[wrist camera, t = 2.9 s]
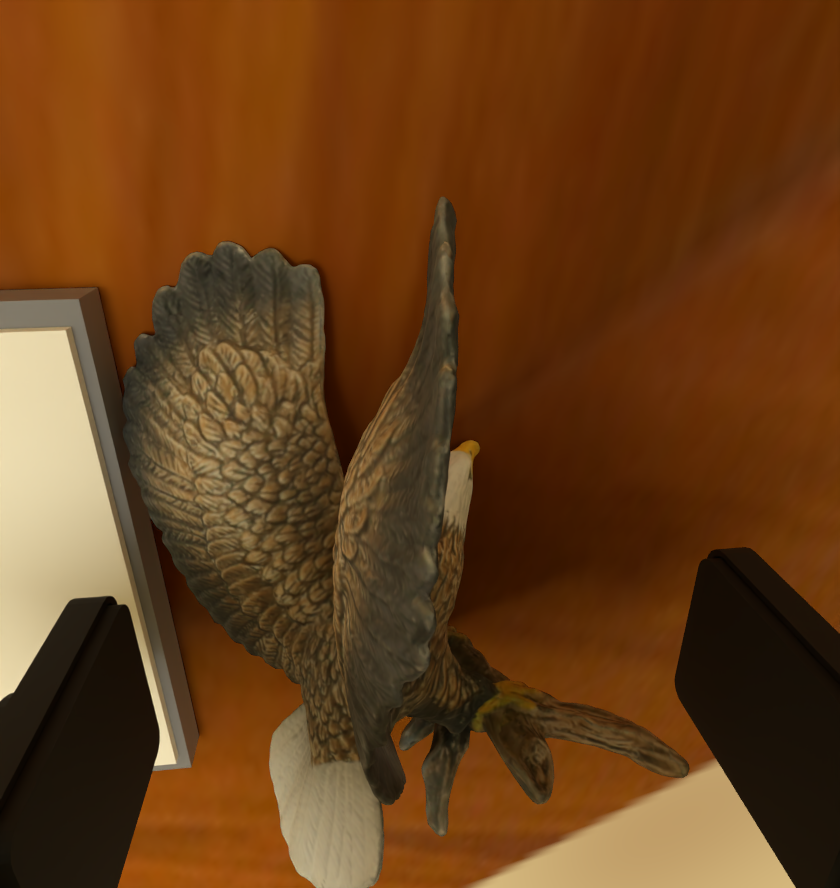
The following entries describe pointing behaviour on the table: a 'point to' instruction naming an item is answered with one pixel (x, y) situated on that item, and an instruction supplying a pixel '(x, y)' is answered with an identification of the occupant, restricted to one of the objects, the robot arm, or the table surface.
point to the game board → (76, 500)
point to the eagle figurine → (335, 549)
